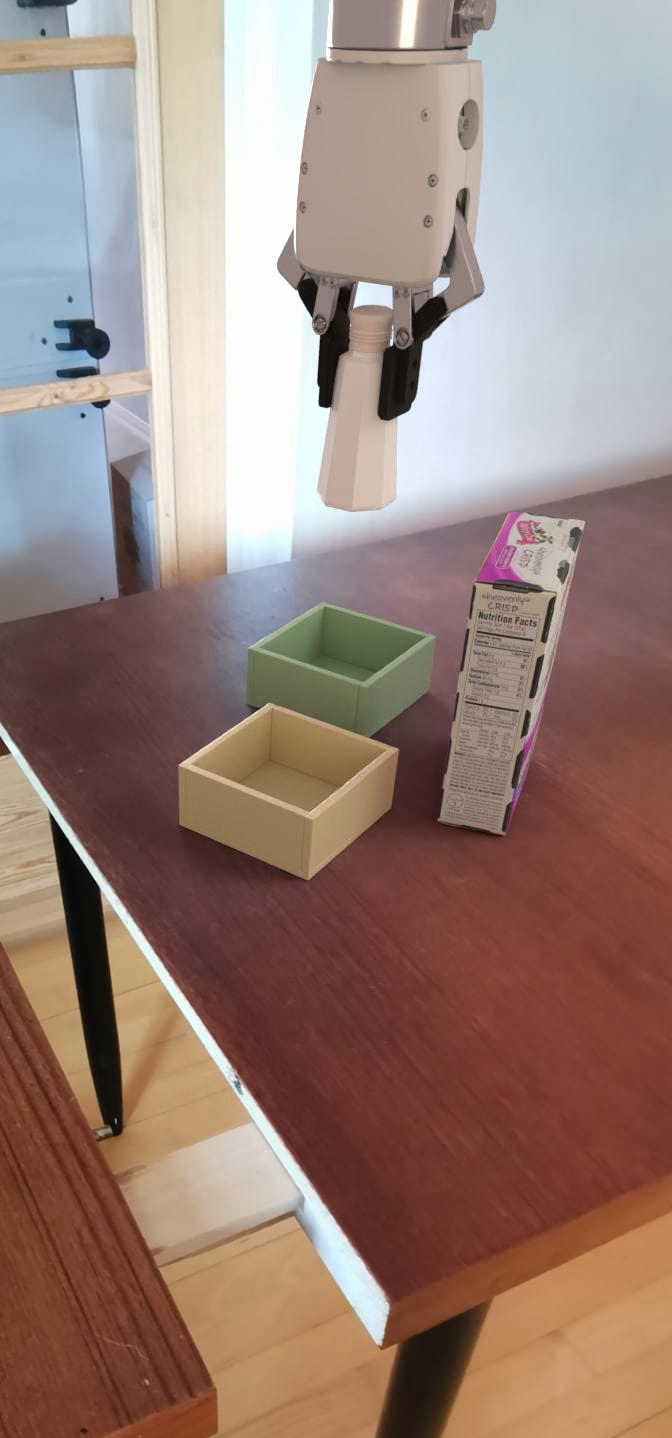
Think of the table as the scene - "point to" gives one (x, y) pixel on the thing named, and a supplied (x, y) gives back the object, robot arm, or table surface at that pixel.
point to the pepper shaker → (360, 421)
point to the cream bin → (287, 789)
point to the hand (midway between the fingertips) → (364, 405)
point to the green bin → (341, 668)
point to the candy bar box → (507, 668)
